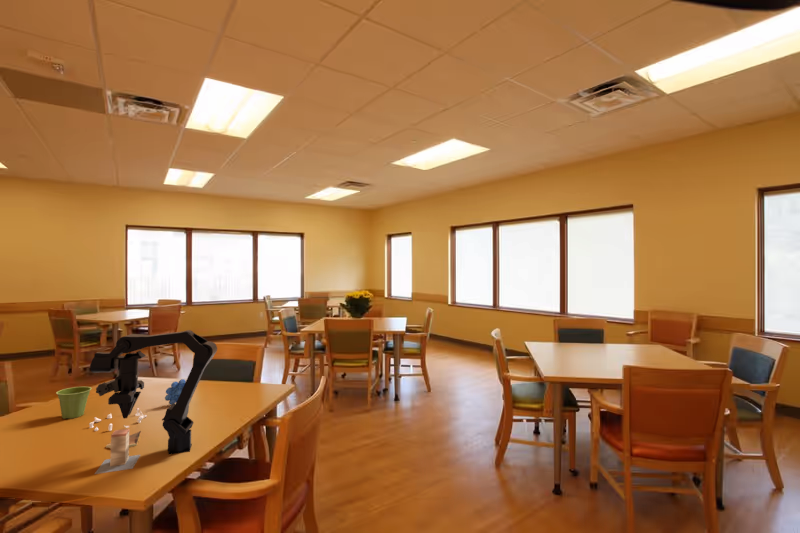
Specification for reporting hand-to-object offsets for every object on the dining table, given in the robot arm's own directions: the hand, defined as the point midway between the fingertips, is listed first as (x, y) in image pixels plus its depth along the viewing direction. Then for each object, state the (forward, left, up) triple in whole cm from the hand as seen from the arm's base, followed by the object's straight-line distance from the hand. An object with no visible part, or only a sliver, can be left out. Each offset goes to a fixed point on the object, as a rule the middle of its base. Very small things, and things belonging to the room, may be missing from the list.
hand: (126, 416), depth 132 cm
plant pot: (+31, -50, -13) cm, 60 cm away
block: (0, +7, -13) cm, 14 cm away
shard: (+3, -10, -14) cm, 17 cm away
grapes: (-9, -52, -13) cm, 54 cm away
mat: (0, +8, -13) cm, 15 cm away
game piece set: (+11, -35, -14) cm, 39 cm away
